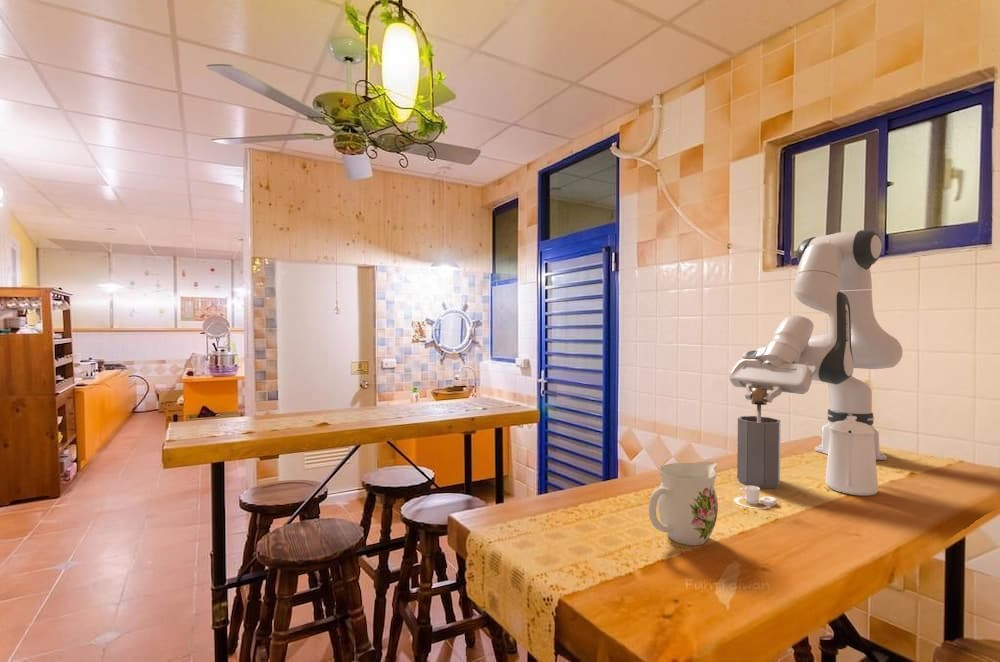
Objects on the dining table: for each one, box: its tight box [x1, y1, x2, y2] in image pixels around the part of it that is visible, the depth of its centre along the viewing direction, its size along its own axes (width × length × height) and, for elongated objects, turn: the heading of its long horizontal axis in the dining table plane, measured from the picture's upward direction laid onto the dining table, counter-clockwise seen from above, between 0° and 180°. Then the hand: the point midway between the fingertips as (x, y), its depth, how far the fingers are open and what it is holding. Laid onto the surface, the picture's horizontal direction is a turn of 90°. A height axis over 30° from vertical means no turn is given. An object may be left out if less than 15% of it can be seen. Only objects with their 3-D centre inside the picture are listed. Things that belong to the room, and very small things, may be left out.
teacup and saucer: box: [733, 485, 778, 510], centre depth 115 cm, size 9×8×4 cm
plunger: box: [750, 388, 768, 422], centre depth 130 cm, size 7×7×24 cm
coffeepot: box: [824, 416, 879, 497], centre depth 124 cm, size 11×25×19 cm, turn 143°
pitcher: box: [648, 461, 719, 546], centre depth 96 cm, size 11×18×14 cm, turn 119°
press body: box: [736, 415, 782, 490], centre depth 131 cm, size 13×10×17 cm
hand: (757, 399), depth 129 cm, fingers closed on plunger, 4 cm apart
